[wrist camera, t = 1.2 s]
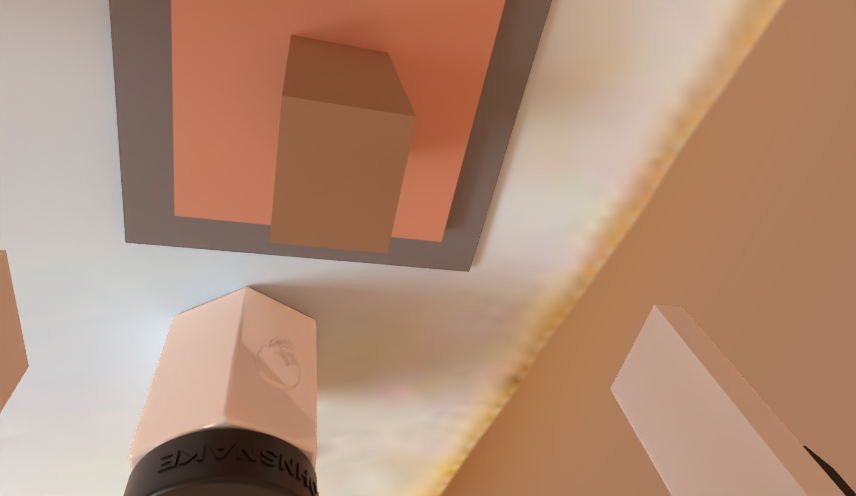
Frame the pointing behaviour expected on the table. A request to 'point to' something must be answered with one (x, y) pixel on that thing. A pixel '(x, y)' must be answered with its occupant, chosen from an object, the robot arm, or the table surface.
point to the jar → (231, 404)
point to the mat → (156, 225)
